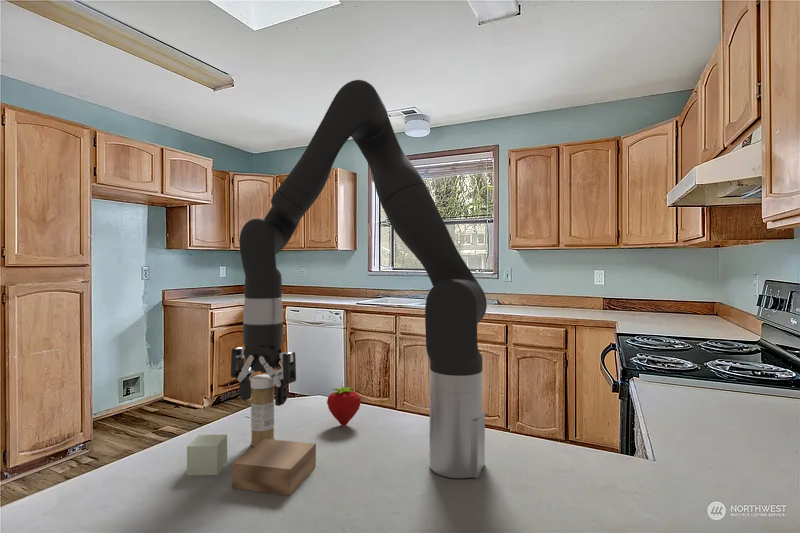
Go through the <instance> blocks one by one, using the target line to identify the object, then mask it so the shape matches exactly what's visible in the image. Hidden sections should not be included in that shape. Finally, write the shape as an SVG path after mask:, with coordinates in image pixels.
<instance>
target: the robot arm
mask: <svg viewBox="0 0 800 533" xmlns="http://www.w3.org/2000/svg"><path fill="white" fill-rule="evenodd" d="M381 98H382V97H381V96H380V94H379V93H378V91H377V89H376V88H375V86H374V85H373V84H372V83H370V82H369V81H367V80H363V79H354V80H350V81H348V82H346V83H345V84H344V85H342V86H341V88H340V89H338V91H337V93H336V94H335V96H334V97H333V99H332V101H331V102H330V103H329V104H330V105H329V107H328V108H327V110H326V113H325V114H324V115H323V118H322V120H321V122H320V123H319V125H318V127H317V129H316V130H315V132H314V134H313V136H312V138H311V140H310V142H309V143H308V145H307V147H306V148H305V150H304V152H303V154H302V155H301V157H300V158H299V160H298V161H297V162H296V164H295V165H294V167H293V168H292V169H291V171H290V172H289V174H288V175H287V176H286V177H285V179H284V180H282V183H281V184H280V185H279V187H278V188H277V189H276V191H274V193H273V195H272V197H271V200H270V204H271V208H270V209H269V210H268V212H267V214H266V215H265V217H264V218H259V217H258V218H252V219H250V220H248V221H247V222H245V223H244V225H243V226H242V228H241V230H240V233H239V234H240V235H239V239H238V240H239V244H238V245H239V253H240V259H241V262H242V269H243V271H244V303H243V314H242V319H243V320H242V344H243V345H245V347H244V346H238V347H235V348H232V349H231V357H230V358H231V359H230V377H231V378H232V379H234V378H235V379H237V381H238V382H239V388H238V389H239V393H238V394H239V397H240V400H241V401H244V402H246V401H248V400H250V399H252V390H251V378H252V377H253V374H254V373H257V372H258V373H259V372H260V373H263V374H268V375H269V377H270V378H272V379H273V381H274V382H275V385H276V386H274V388H275V389H274V406H277V407H279V406H282V405H284V404H285V402H286V401H287V400H288V385H290V384H293V383H294V382H296V381H297V367H296V366H297V364H296V362H297V359H296V352H295V351H294V350H292V351H288V352H285V351H284V352H283V350H282V343H283V340H284V338H283V335H284V334H283V333H284V332H283V330H284V327H283V326H284V311H283V310H284V307H283V300H282V291H283V290H282V287H283V286H282V284H283V283H282V282H283V279H282V273H281V271H280V270H279V269H278V267H277V262H276V261H277V256H276V255H277V254H278V253H280V252H281V251H282V250H283V249H284V248H285V247H286V246H287V244H288V243H289V242H290V240H291V238H292V236H293V234H294V233H295V230H297V229H296V228H297V227H298V225H299V223H300V221H301V219H302V217H303V216H305V214H306V213H307V212H308V211H309V209H310V208H311V207H312V205H313V204H314V203H315V202H316V200H317V199H318V197H319V196H320V194H321V193H322V191H323V190H324V188H325V185H326V183H327V181H328V179H329V176H330V173H331V171H332V168H333V166H334V163H335V161H336V158H337V157H338V154H339V153H340V151H341V150H342V148H343V146H344V145H345V144H346V142H347V141H348V140H349V138H351V139H352V140H353V141H354V142H355V144H356V146H357V147H358V148H359V149H358V150H360V152H361V153H362V155H363V157H364V159H365V160H366V162H367V164H368V166H369V168H370V172H371V175H372V180H373V184H374V187H375V191H376V194H377V197H378V200H379V202H380V205H381V207H382V209H383V212H384V213H385V215H386V217H387V219H388V220H387V221H389V223H390V225H391V227H392V228H393V230H394V232H395V234H396V235H397V236H398V237H399V239H400V240H401V241H402V242H403V244H404V245H405V246H406V247H407V248H408V249H409V250H410V252H412V254H413V255H414V256H415V258H416V259H417V260H418V261H419V262H420V263H421V265H422V267H423V268H424V270H425V272H426V274H427V276H428V279H429V280H430V282H431V284H432V287H431V289H430V290H429V292H428V294H427V297H426V301H425V307H424V308H425V309H424V322H425V325H424V326H425V327H424V328H425V349H426V353H427V357H428V358H429V451H428V453H429V455H428V456H429V468H430V469H431V470H432V471H433V472H434V473H435V474H437V475H439V476H442V477H446V478H450V479H466V478H475V479H479V477H480V475H481V472H482V471H483V468H484V466H485V463H486V460H485V457H486V456H485V452H486V450H485V449H486V447H485V444H486V436H485V435H486V434H485V433H486V412H485V410H483V355H482V353H480V350H479V346H478V324H479V323H480V322H481V321H482V320H483V319H484V317H485V315H486V312H487V308H488V307H487V306H488V304H487V297H486V294H485V291H484V290H483V288H482V286H481V284H480V283H479V282H478V280H477V278H476V277H475V276H474V274H473V272H472V271H471V270H470V268H469V267H468V265H467V264H466V262H465V261H464V259H463V257H462V256H461V254H460V253H459V251H458V249H457V247H456V245H455V243H454V241H453V238H452V236H451V234H450V231H449V230H448V227H447V225H446V223H445V221H444V219H443V217H442V214H441V213H440V212H439V209H438V207H437V204H436V202H435V200H434V198H433V196H432V194H431V193H430V191H429V189H428V187H427V185H426V182H424V179H423V178H422V177H421V175H420V173H419V171H418V170H417V168H416V167H415V166H414V164H413V163H412V162H411V161H410V159H409V158H408V156H407V155H406V154H405V152H404V151H403V148H402V147H401V146H400V143H399V141H398V138H397V136H396V134H395V130H394V128H393V125H392V123H391V119H390V117H389V113H388V111H387V109H386V106H385V103H384V102H383V100H382V99H381ZM245 360H246V362H245ZM275 369H276V370H275Z"/></svg>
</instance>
